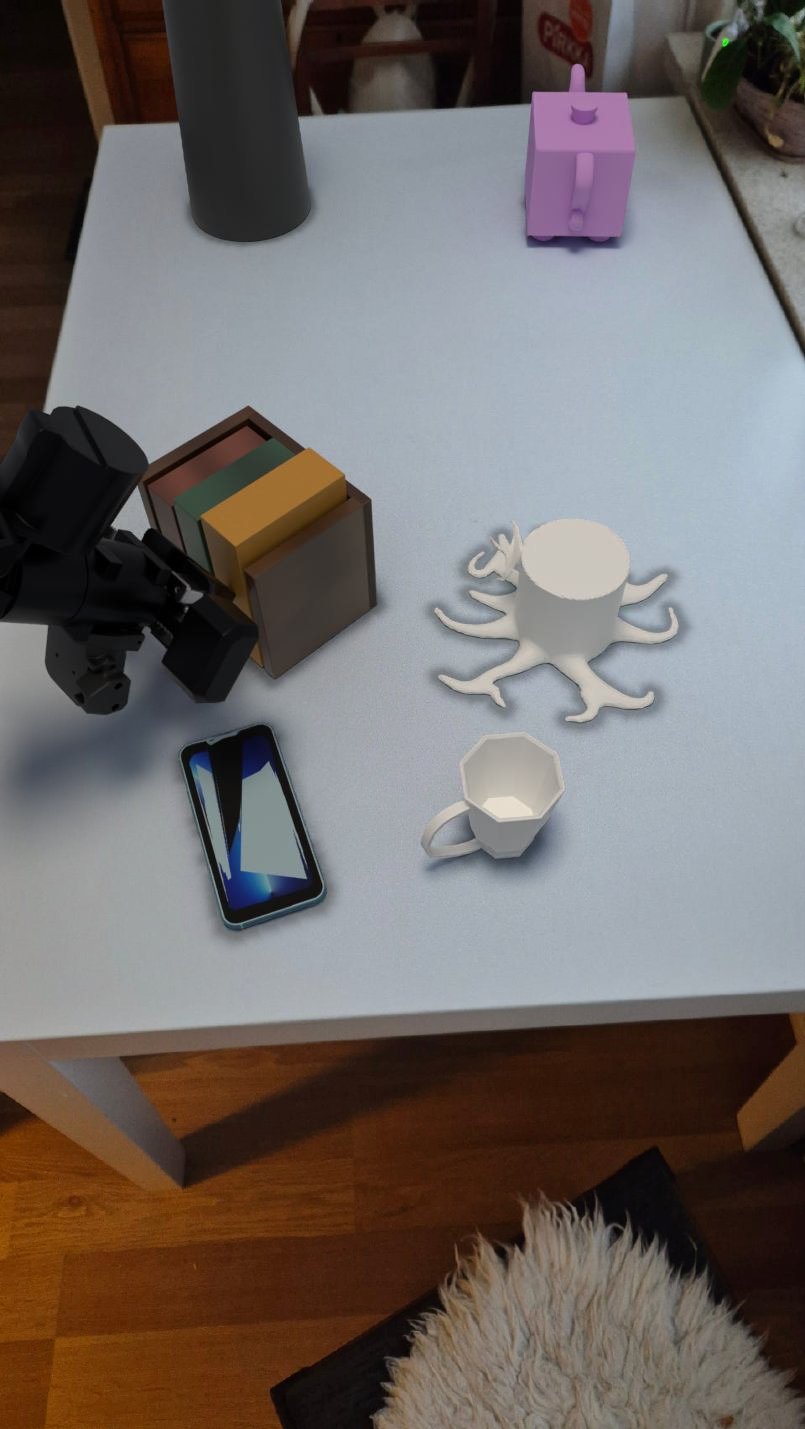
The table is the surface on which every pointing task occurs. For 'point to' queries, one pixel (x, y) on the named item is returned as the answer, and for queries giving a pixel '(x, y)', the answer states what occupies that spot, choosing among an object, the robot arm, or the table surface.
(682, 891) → the table surface
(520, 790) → the cup
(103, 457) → the robot arm
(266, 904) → the smartphone
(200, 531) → the bookshelf
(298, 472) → the ochre book
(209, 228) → the vase
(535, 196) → the teapot
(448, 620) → the tree stump
